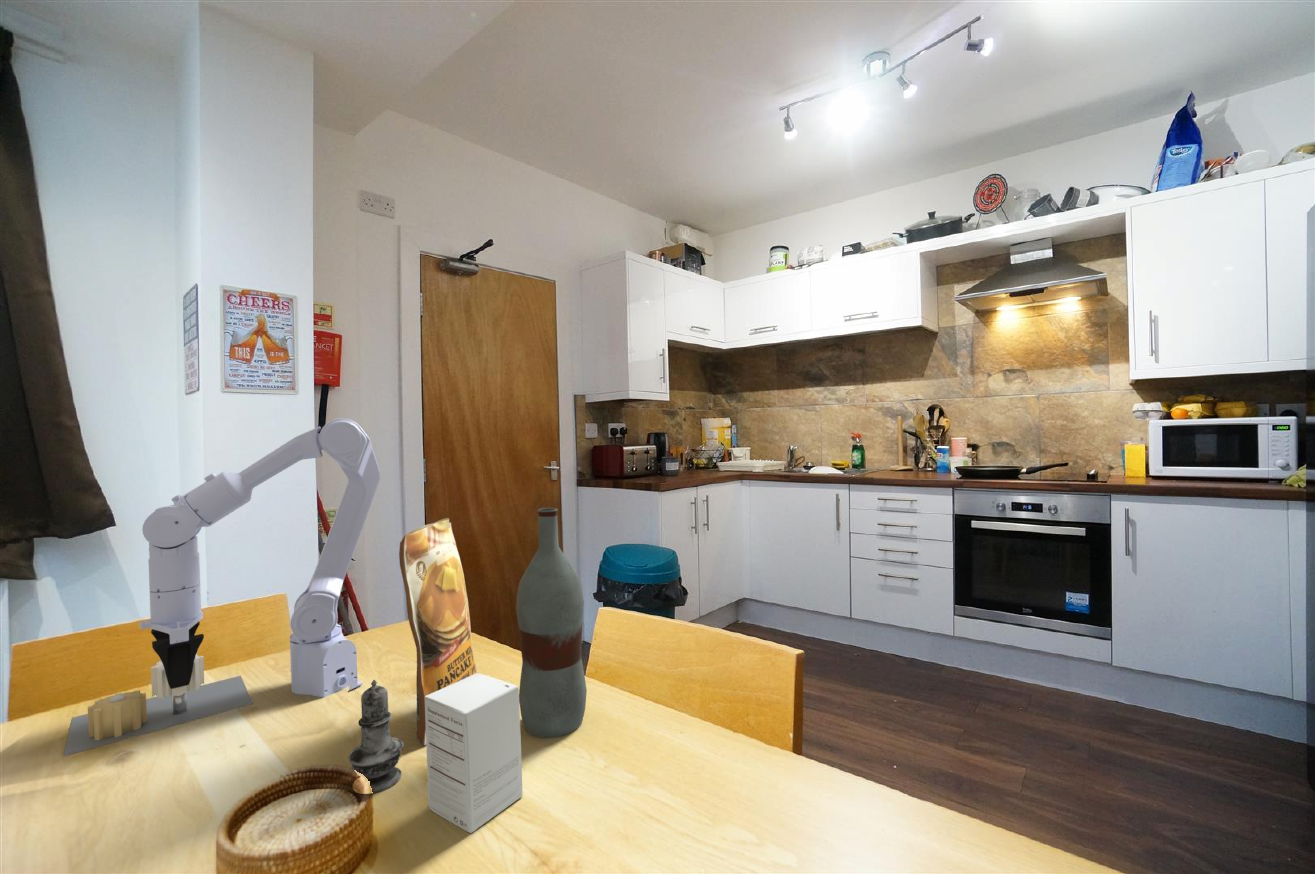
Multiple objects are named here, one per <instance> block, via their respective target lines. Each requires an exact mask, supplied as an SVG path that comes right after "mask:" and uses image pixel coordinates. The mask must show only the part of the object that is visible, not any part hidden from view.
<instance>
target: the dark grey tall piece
mask: <svg viewBox="0 0 1315 874" xmlns="http://www.w3.org/2000/svg"><path fill="white" fill-rule="evenodd" d="M377 684H378V681H377V680H375V679H373V681H371V683H370V685H371V686H370V687H369V688H367V689H365V690H364V691H363V693H362V694H361V698H360V703H361V707H360V708H361V718H360V719H359V720H358V722H357V723H358V726H359V727H361V729H360V730H361V740H360V744H359V745H358V746H356V747H355V748H353V749H352V751H351V752H350V753H349V754H348V762H349V763H350V764H351V768H352V770H353V769H354V770H356V771H357V772H359V773H361V774H363V775H364V776H365V777H366V778H367V779H368V781H370V786H371V788H372V792H373V794H372V795H374V794H377V793H378V794H379V793H382V792H384V791H386V790H388V789H390V788H392V787H394V786H396V784H397V783H398V782H400V780H401V779H402V776H403V774H402V770H401V769H400V768H398V767H396V766H397V765H398V763H399V760H400V758H401V755H402V750H403V748H404V741H402V740H401V739H400V738H398V737H397V738H396V737H392V735H391V732H390V731H391V730H390V720H391V718H392V717H393V714H392V712H391V711H389V698H388V697H389V694H388V689H387V688H386V687H384V686H381V685H377ZM354 770H353V771H354Z"/></svg>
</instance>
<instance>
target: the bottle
mask: <svg viewBox="0 0 1315 874" xmlns="http://www.w3.org/2000/svg"><path fill="white" fill-rule="evenodd" d="M558 511H559V509H558V508H557V507H542V508H539V509H537V513H538V517H537V519H538V548H537V550H536V552H535V554H534V555H533V557H532V559H531V560H530V562H529V564H528V566H527V568H526V569H525V570H524V573H523V575H522V576H521V578H520V580H519V583H518V587H517V595H516V605H515V610H516V617H517V618H516V619H517V623H518V625H517V626H518V631H519V641H520V651H521V652H520V653H521V660H522V663H521V664H522V665H521V670H520V671H521V673H520V679H519V680H520V681H519V708H520V716H521V717H520V718H521V720H522V722H523V726H524V730H525V731H526V732H527V733H528V734H529V735H532V736H534V737H537V738H545V739H546V738H557V737H561V736H562V737H563V736H565V735H568V734H570V733H572V732H574V731H577V730H578V729H579V727H580V726H581V725H582V724H583V720H584V716H585V711H586V703H587V702H586V701H587V692H588V690H587V683H586V675H585V671H584V665H583V659H582V642H583V641H582V640H583V639H582V638H583V620H584V611H585V610H584V609H585V608H584V607H585V601H584V595H583V586H582V582H581V579H580V575H579V574H578V573H577V571H576V570H575V568H574V567H573V566H572V564H571V563H570V561H569V560H568V558H567V557H566V555H565V553H563V551H562V549H561V548H560V546H559V545H560V544H559V526H558Z"/></svg>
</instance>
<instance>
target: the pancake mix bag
mask: <svg viewBox="0 0 1315 874" xmlns="http://www.w3.org/2000/svg"><path fill="white" fill-rule="evenodd" d="M452 526H453V525H452V522H450V518H449V517H445V518H442V519H440V520H437V521H436V522H431V523H428V524H425V525H422V526H420V527H418V528H415V529H413V530H411V531H410V532H407V533H405V535H404V536H403V538H401V541H400V543H399V550H398V551H399V553H398V558H399V567H400V572H401V577H402V580H403V587H404V591H405V592H404V593H405V597H406V600H405V601H406V611H407V619H408V623H409V627H410V630H411V633H412V637H413V641H414V644H415V649H416V650H415V651H416V730H415V731H416V740H417V741H418V742H419V743H420V744H422V745H423V746H425V747H426V722H425V696H426V695H429V694H431V693H433V692H436V691H438V690H440V689H442V688H445V687H447V686H449V685H451V684H454V683H456V682H458V681H460V680H462V679H465V678H467V677H469V676H471V675H473V674H475V673H478V672H477V668H476V662H475V658H474V657H475V655H474V650H473V649H474V647H473V640H472V631H471V630H472V629H471V618H470V609H469V600H468V593H467V587H466V581H465V574H464V569H463V566H462V561H461V557H460V554H459V551H458V548H457V547H458V546H457V542H456V539H455V536H454V532H453V527H452Z"/></svg>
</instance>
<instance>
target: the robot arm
mask: <svg viewBox="0 0 1315 874" xmlns="http://www.w3.org/2000/svg"><path fill="white" fill-rule="evenodd" d="M319 432H320V433H319ZM322 451H324V452H325V453H326V454H327V455H329V457H331V458H332V459H333V460H335V462H337V463H338V464H339V466H340V469H342V472H343V473H344V475H345V476H346V478H347V480H348V481H347V484H346V487H345V489H344V492H343V494H342V497H341V500H340V502H339V504H338V506H337V507H338V508H337V510H336V513H335V516H334V519H333V522H331V523H332V524H331V527H330V529H329V532H328V535H327V536H326V537H327V538H326V540H325V541H324V542H325V543H324V545H323V548H322V551H321V554H320V555H319V559H318V561H317V565H316V566H315V569H314V572H313V574H312V576H311V579H310V581H309V584H308V585H307V588H306V589H305V590H304V591H303V592H302V594H300V595H299V596H298V598H297V599H296V600H295V602H294V607H293V613H292V615H291V618H290V629H291V631H292V634H290V635H289V649H290V651H289V652H290V653H289V654H290V655H289V656H290V675H291V676H290V679H291V680H290V681H291V683H290V684H291V692H292V693H293V694H296V695H308V696H314V697H318V698H326V697H329V696H331V695H333V694H336V693H337V692H340V691H342V690H344V689H346V688H348V689H347V690H348V692H349V691H351V690H353V689H356V688H358V687H360V686H361V685H363V681H361V680H359V679H358V658H357V657H358V654H357V653H358V651H357V648H356V645H355V643H354V642H353V641H351V639H348V638H346V636H344V634H343V631H342V625H340V624H338V619H339V617H338V605H339V604H338V603H339V602H338V601H339V599H340V596H341V592H342V588H343V586H344V585H343V583H344V581H345V578H346V575H347V572H348V569H349V566H350V564H351V561H352V559H353V556H354V553H355V550H356V548H357V545H358V542H359V539H360V537H361V533H362V531H363V529H364V525H365V523H366V520H367V518H368V514H369V512H370V509H371V506H372V505H373V501H374V498H375V496H376V494H377V490H378V487H379V484H380V481H381V478H382V474H381V470H380V466H379V464H378V460H377V458H376V455H375V454H376V453H375V451H374V448H373V445H372V441H371V439H370V437H369V435H367V433H366V432H365V431H364V429H363V428H362V427H361V425H360V424H359V423H357V422H356V421H354V420H352V419H349V418H345V417H344V418H343V417H342V418H340V417H339V418H335V419H331V420H329V421H328V422H327V423H325V424H324V426H322V427H321V426H318V427H315V428H313V429H311V430H308V431H306V432H304V433H301V434H299V435H296V436H294V437H293V438H291V439H289V440H288V441H286V442H285V443H283V444H282V445H279V447H277V448H275V449H274V450H273V451H271V452H270V453H268V454H267V455H265V456H263V457H261V458H260V459H259V460H257V461H255V462H254V463H252V464H250V465H249V466H248V467H247V468H245V469H243V470H241V471H239V472H232V471H222V472H220V473H219V474H216V473H214V472H213V473H210V474H208V475H207V476H205V477H204V480H205V482H203V483H202V484H199V485H198V486H196V487H194V489H192V490H190V491H188V492H187V493H185V494H183V495H181V494H177V495H175V496H174V497H172V498H171V501H172V502H173V504H170V505H166V506H162V507H157V508H156V509H155V510H154V511H153V512H152V513H151V514H150V515H148V516H147V517H146V519H145V520H144V522H143V524H142V535H143V537H144V538H145V540H146V541H147V542H148V552H149V553H148V554H149V558H148V585H149V606H150V607H149V609H150V610H149V613H150V619H149V620H144V621H141V622H140V623H139V629H140V630H147V629H151V630H150V633H151V635H152V636H153V637H154V640H153V641H152V642H151V645H152V650H154V652H155V653H156V654H157V655H158V657H159V659H160V661H162V663H163V666H164V669H165V673H166V677H167V681H168V684H169V687H170V688H171V689H174V688H178V687H182V686H186V685H189V683H190V680H191V676H192V670H193V665H194V660H195V656H196V654H197V653H198V651H199V648H200V646H201V644H202V643H203V641H204V638H205V636H204V633H199V634H196V632H197V630H198V628H199V626H200V625H201V624H200V622H201V621H202V620H203V619H204V613H203V611H202V604H201V603H202V599H201V598H202V596H201V595H202V594H201V573H200V572H201V571H200V570H201V569H200V567H201V566H200V553H199V550H198V549H199V548H198V547H199V546H198V545H199V544H198V536H197V535H198V534H199V533H200V532H201V530H202V528H208V527H211V526H213V525H214V524H216V523H217V522H219V521H220V520H222V519H224V518H225V517H226V516H228V515H230V514H232V513H233V512H235V511H237V510H238V509H240V508H241V507H244V505H246V504H248V503H249V502H250V501H251V499H252V494H253V490H254V488H256V487H257V486H259V485H261V484H263V483H264V482H266V481H267V480H269V479H272V477H275V476H277V475H278V474H279V473H281V472H283V471H284V470H287V469H288V468H290V467H291V466H293V465H295V464H297V463H299V462H301V461H303V460H312V459H319V458H322V457H323V456H324V455H323V452H322ZM195 634H196V635H195Z"/></svg>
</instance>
